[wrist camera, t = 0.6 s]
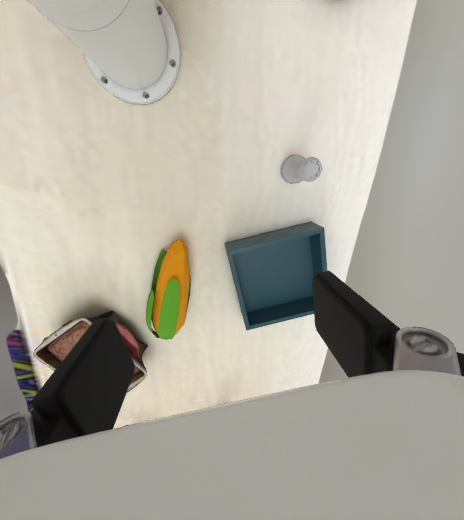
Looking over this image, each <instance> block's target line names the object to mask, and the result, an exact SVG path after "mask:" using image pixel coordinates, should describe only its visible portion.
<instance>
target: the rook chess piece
mask: <svg viewBox="0 0 464 520" xmlns="http://www.w3.org/2000/svg"><path fill="white" fill-rule="evenodd" d="M321 171H322V166H321V163H320V161H319V160H318V159H317V158H315V157H308V158H307V159H305V158H304V157H302V156H300V155H292V156H290V157H288V158H287V159H286V160H285V161H284V163H283V165H282V176H283V178H284V179H285V180H286V181H287V182H289V183H291V184H292V183H299V182H301V181H303V180H304V181H307V182H311V181H314V180H316V179H317V178H318V177H319V175H320V173H321Z"/></svg>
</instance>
